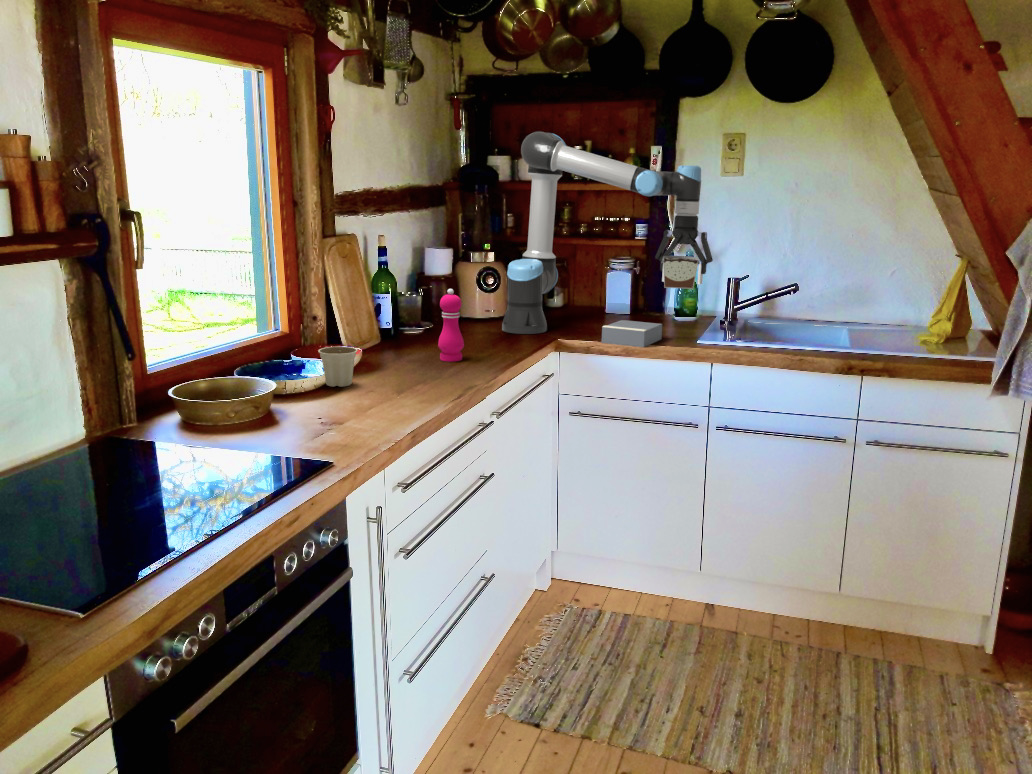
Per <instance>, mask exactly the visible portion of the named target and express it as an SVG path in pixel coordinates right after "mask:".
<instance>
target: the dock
mask: <svg viewBox="0 0 1032 774" xmlns="http://www.w3.org/2000/svg"><path fill="white" fill-rule="evenodd" d="M601 328H602V329H601V343H602V344H609V345H610V344H611V345H617V346H618V345H619V346H626V347H627V346H628V347H636V348H637V347H638V348H645V347H647V346H650V345H652V344H654V343H657V342H658V341H660V340H662V339H663V338H662V335H663V324H662V323H655V322H644V321H638V320H637V321H636V320H635V321H634V320H626V319H625V320H623V319H620V320H618V321H616V322H613V323H610V324H607V325H603V326H601Z"/></svg>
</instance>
